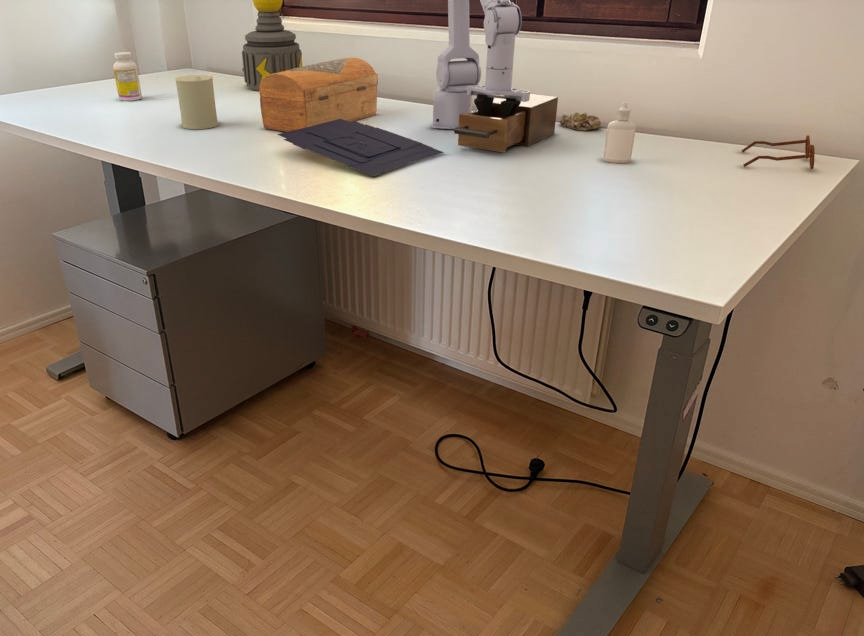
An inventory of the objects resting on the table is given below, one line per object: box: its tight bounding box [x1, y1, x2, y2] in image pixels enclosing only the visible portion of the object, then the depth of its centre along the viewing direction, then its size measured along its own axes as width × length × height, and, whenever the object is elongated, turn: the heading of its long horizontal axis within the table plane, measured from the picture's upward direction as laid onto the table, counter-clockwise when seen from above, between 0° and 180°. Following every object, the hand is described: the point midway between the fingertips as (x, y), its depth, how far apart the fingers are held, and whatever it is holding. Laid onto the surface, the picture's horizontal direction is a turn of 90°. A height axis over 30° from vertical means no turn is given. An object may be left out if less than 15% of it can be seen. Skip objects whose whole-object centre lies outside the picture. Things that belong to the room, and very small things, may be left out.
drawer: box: [453, 106, 528, 153], centre depth 165 cm, size 18×11×7 cm, turn 145°
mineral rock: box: [559, 112, 602, 132], centre depth 185 cm, size 11×4×8 cm
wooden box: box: [258, 57, 379, 133], centre depth 190 cm, size 30×16×14 cm, turn 145°
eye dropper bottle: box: [602, 101, 637, 164], centre depth 155 cm, size 4×6×12 cm
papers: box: [276, 119, 445, 177], centre depth 163 cm, size 24×30×4 cm
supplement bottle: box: [112, 51, 143, 102], centre depth 218 cm, size 7×7×13 cm
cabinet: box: [492, 93, 559, 147], centre depth 175 cm, size 15×13×9 cm
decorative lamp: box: [241, 0, 303, 92], centre depth 230 cm, size 19×19×30 cm
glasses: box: [741, 135, 816, 170], centre depth 155 cm, size 13×13×5 cm
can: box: [174, 74, 219, 130], centre depth 187 cm, size 9×9×12 cm
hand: (495, 131), depth 168 cm, fingers closed on ball, 4 cm apart
